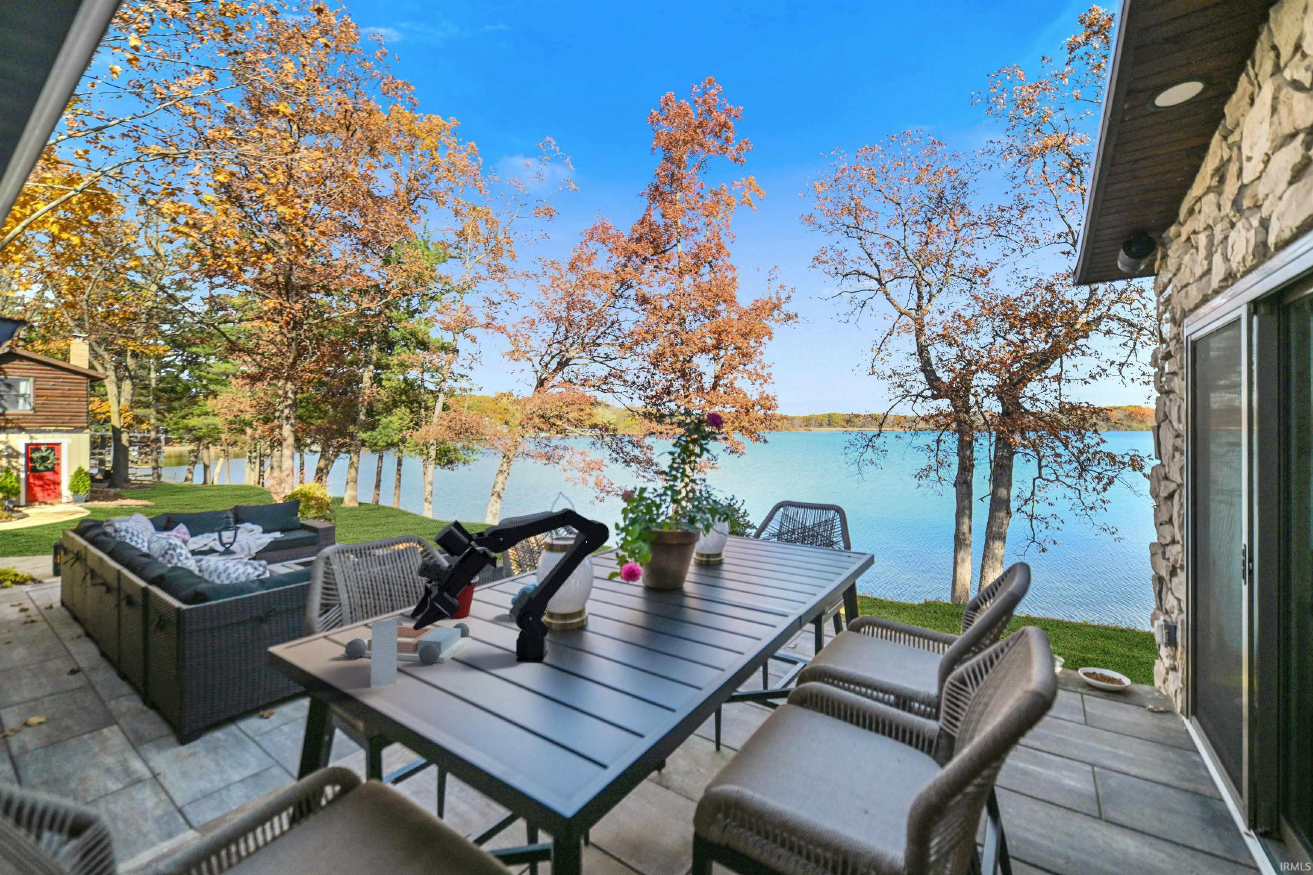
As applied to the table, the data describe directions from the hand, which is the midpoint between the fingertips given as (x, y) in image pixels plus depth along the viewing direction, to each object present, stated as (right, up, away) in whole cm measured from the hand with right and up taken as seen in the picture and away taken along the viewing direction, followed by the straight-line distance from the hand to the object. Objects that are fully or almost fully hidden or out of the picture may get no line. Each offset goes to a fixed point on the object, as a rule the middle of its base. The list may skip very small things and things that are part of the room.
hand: (412, 622), depth 127 cm
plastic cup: (-5, -12, +43) cm, 45 cm away
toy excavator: (+19, -13, +42) cm, 48 cm away
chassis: (-8, -12, +16) cm, 22 cm away
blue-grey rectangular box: (-5, -12, -3) cm, 13 cm away
